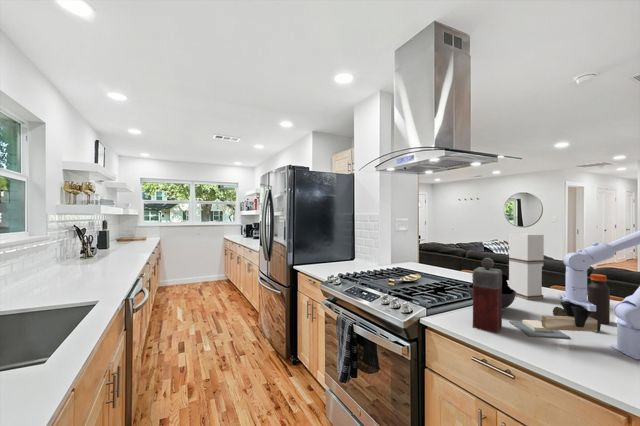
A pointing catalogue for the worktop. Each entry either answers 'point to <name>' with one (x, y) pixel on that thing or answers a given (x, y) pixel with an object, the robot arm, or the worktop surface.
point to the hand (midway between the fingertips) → (575, 324)
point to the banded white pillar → (526, 265)
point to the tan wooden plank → (567, 323)
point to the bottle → (599, 298)
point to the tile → (535, 325)
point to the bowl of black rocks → (507, 292)
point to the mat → (538, 334)
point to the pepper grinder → (487, 297)
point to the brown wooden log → (560, 312)
